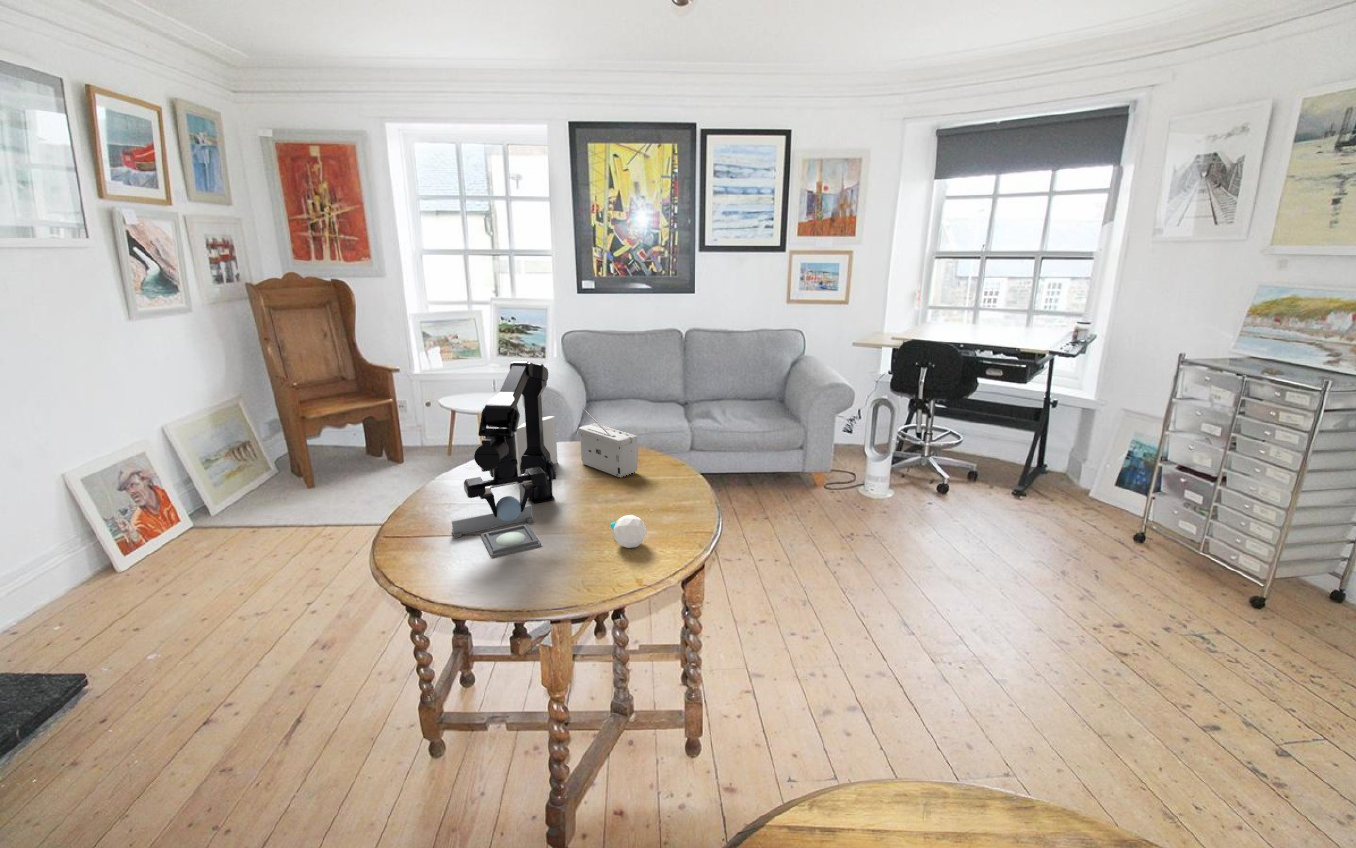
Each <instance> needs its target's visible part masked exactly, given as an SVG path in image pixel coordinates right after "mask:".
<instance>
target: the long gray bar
mask: <svg viewBox="0 0 1356 848" xmlns="http://www.w3.org/2000/svg"><path fill="white" fill-rule="evenodd" d="M532 509H533V508H532V504H530V503H529V504H526V505H525V508H524V510H523V512H521V511H520V514H519V516H518V517H517V518H515V519H514V520H511V521H504V520H502V519H500V518H499V517H498V516H497V517H496V518H495V516H494V514H493V512H492V511H487V512H483V513H478V514H473V515H469V516H468V515H467V516H463V517H459V518H458V517H457V518H452V519H451V532H452V535H453V537H454V539H457V538H458V539H459V538H462V535H465V534H470V533H474V532H478V531H485V530H490V529H494V528H499V527H503V526H507V525H513V524H516V523H522V522H526V523H528V524H529V523H533V522H534V521H535V520H534V517H533V510H532Z"/></svg>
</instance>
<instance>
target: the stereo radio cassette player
mask: <svg viewBox="0 0 1356 848" xmlns="http://www.w3.org/2000/svg"><path fill="white" fill-rule="evenodd" d="M584 408H585V407H582V408H581V409H582V410H584V411H585V412H586V414H587V415H588V416H589V417H590V418H591V419H592V420H593V421H594V423H590V424H588V425H587V424H586V425H582V426H580V427H578V433H579V434H580V435H579V436H580V456H581V457H580V460H581V462H582V464H583V465H584V466H588V467H591V468H594V469H596V470H599V471H602V472H604V473H607V474H609V475H612V476H615V477H618V478H619V477H620V478H619V479H621V478H624V477H627V476H630V475H632V474H631V473H633V474H635V473H636V472H637V471H638V469H639V467H638V466H639V442H638V441H639V440H638V436H637V435H635V434H632V433H628V432H625V431H621V430H618V429H616V428H612V427H608V426H605V425H601V424H600V423H599V421H597V420H596V419H595V418H594V417H593V416H592V415H591V414H590V413H589V412H588V411H587V410H586V409H584ZM634 472H635V473H634ZM629 474H630V475H629ZM626 475H627V476H626ZM623 476H624V477H623Z"/></svg>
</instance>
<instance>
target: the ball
mask: <svg viewBox="0 0 1356 848" xmlns="http://www.w3.org/2000/svg"><path fill="white" fill-rule="evenodd" d="M495 505H496V511H497V516H498V517H499V518H500V519H502V520H504V521H511V520H514V519H515V518H517V517H518V516H519V514H520V511H521V505H520V500H519V499H517V498H516V497H514V496H510V495H507V496H503V497H502V498H500V499H498V501H497V502H496V503H495Z"/></svg>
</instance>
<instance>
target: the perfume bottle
mask: <svg viewBox="0 0 1356 848" xmlns="http://www.w3.org/2000/svg"><path fill="white" fill-rule="evenodd" d="M610 528H611V529H612V530H613V538H614V540H615V541H616V542H617V544H618V545H619V546H621V547H624V548H626V549H631V548H633V549H634V548H637V547H639V546H640V545H641V544H642V543H643V542H644V540H645V538H646V535H647V529H646V528H647V527H646V523H644V521H643V520H642V519H641V517H638V516H636V515H634V514H629V515H628V514H627V515H622V517H620V518H619V519H617V520H616V521H612V522H611V523H610Z"/></svg>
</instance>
